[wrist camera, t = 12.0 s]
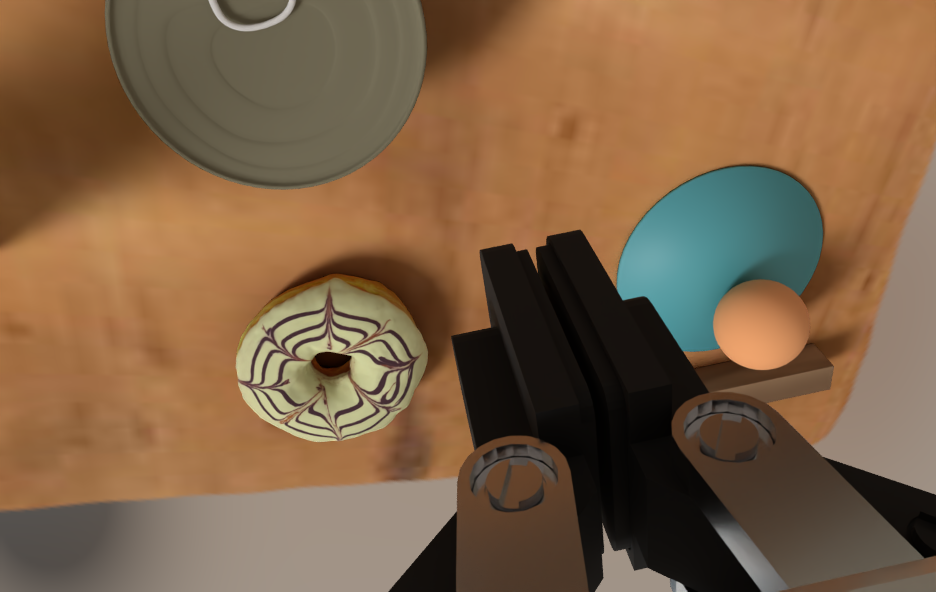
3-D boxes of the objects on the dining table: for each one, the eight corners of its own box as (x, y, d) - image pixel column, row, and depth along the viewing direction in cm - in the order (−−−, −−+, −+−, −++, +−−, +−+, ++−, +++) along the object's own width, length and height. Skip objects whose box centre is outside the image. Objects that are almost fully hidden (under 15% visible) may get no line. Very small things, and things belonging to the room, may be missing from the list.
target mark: (612, 190, 42) (614, 191, 42) (834, 146, 43) (835, 147, 43) (619, 367, 50) (620, 369, 50) (808, 327, 50) (810, 329, 50)
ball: (724, 390, 47) (694, 311, 50) (811, 367, 47) (776, 289, 49) (742, 365, 42) (707, 279, 44) (838, 339, 42) (798, 254, 44)
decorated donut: (456, 329, 46) (465, 366, 43) (343, 433, 50) (344, 475, 46) (322, 231, 41) (322, 266, 38) (205, 354, 45) (196, 396, 41)
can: (213, 161, 38) (192, 223, 33) (90, -96, 32) (37, -75, 26) (440, 94, 38) (459, 144, 32) (366, -178, 31) (373, -175, 26)
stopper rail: (613, 386, 50) (625, 410, 48) (813, 343, 51) (833, 366, 49) (614, 408, 52) (626, 433, 50) (810, 366, 52) (830, 389, 50)
